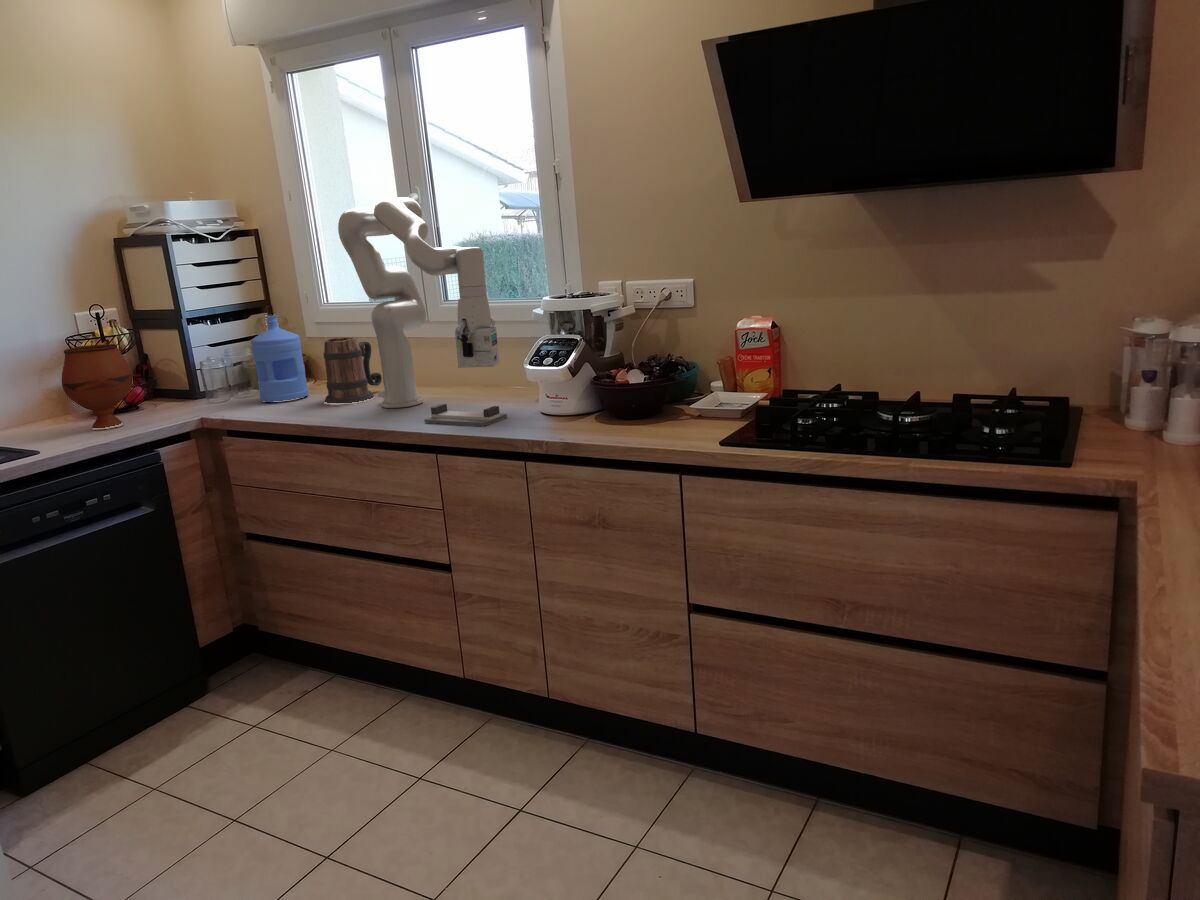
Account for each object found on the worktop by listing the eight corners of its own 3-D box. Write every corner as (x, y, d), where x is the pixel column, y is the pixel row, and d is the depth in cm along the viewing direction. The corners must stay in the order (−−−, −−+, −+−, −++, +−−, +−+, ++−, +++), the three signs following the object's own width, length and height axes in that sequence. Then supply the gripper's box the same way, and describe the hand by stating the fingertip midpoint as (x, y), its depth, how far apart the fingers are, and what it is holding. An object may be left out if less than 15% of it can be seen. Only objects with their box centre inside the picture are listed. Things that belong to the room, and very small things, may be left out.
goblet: (104, 435, 254) (85, 351, 248) (57, 434, 261) (38, 352, 255) (156, 420, 272) (140, 341, 265) (111, 420, 278) (94, 342, 272)
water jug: (275, 395, 302) (261, 314, 295) (317, 393, 300) (304, 312, 293) (251, 404, 288) (236, 320, 281) (295, 402, 285) (282, 317, 278)
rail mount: (424, 423, 239) (423, 409, 238) (449, 414, 248) (448, 401, 247) (483, 426, 230) (482, 412, 229) (507, 417, 239) (505, 403, 238)
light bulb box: (500, 363, 250) (497, 325, 247) (494, 367, 243) (491, 328, 240) (463, 364, 251) (460, 326, 248) (457, 368, 244) (454, 330, 242)
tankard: (350, 406, 272) (340, 342, 267) (311, 404, 280) (301, 342, 275) (400, 391, 292) (392, 332, 287) (362, 390, 300) (354, 332, 295)
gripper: (480, 289, 251) (485, 349, 255) (442, 295, 236) (448, 358, 241) (501, 289, 247) (506, 349, 252) (464, 295, 233) (470, 359, 237)
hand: (478, 354), depth 246 cm, fingers closed on light bulb box, 8 cm apart
